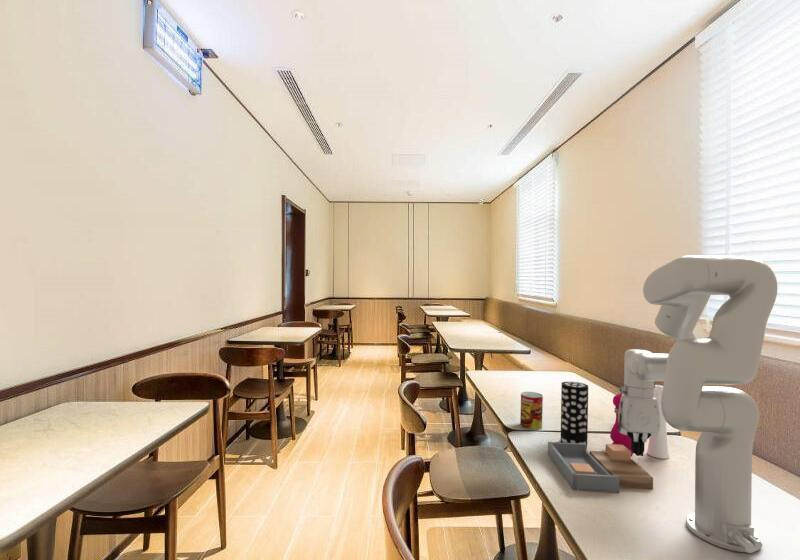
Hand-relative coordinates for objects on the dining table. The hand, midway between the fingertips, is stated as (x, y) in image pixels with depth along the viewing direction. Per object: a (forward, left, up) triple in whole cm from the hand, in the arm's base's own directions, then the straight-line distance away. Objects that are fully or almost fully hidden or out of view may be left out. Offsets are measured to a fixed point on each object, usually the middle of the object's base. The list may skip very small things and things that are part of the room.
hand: (637, 454), depth 119 cm
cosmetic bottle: (+10, -11, -4) cm, 16 cm away
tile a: (-9, +19, -1) cm, 21 cm away
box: (-5, +18, -4) cm, 19 cm away
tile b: (0, +6, -1) cm, 6 cm away
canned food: (+32, +23, -4) cm, 39 cm away
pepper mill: (+12, -1, -4) cm, 13 cm away
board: (-5, +8, -4) cm, 10 cm away
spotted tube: (+16, +13, -4) cm, 21 cm away
